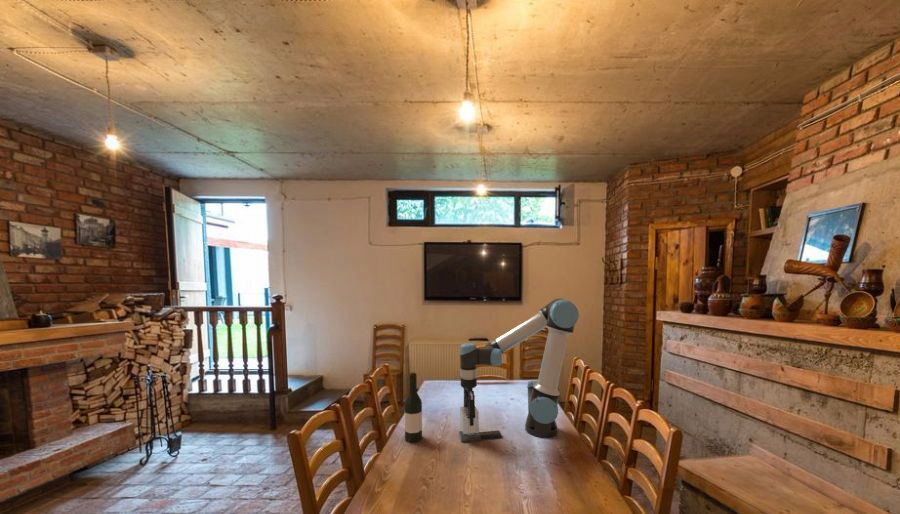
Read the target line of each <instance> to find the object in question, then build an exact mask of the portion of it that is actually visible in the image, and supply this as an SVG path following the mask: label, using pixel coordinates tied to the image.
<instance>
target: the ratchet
mask: <svg viewBox="0 0 900 514" xmlns="http://www.w3.org/2000/svg"><path fill="white" fill-rule="evenodd" d="M458 437H459V440H460V443H468V442H469V443H470V442H477V441H479V442H480V441H481V440H490V439H491V440H492V439H500V438H502V433H501V431H500V430H499V429H498V430H491V431H490V430H489V431H488V430H487V431H479V433H468V434H463V432H462V430H459V431H458Z"/></svg>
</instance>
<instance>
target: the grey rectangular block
mask: <svg viewBox="0 0 900 514" xmlns="http://www.w3.org/2000/svg"><path fill="white" fill-rule="evenodd" d="M459 416H460V417H459V418H460V420H459V421H460V425H459V426H460V429H461V431H462V432H463V434H468V418H467V417H468V416H469V415H468V407H464V406H460V407H459ZM479 419H480V416H479V410H478V409H477V407H476V406H475V418H474V430H475V432H474V433H479V432H480V424H479V423H480V421H479Z"/></svg>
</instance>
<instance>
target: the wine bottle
mask: <svg viewBox="0 0 900 514" xmlns="http://www.w3.org/2000/svg"><path fill="white" fill-rule="evenodd" d="M417 381H418V380H417V373H416V371H410V373H409V393H408V394H407V396H406V398H405V400H404V441H405V442H407V443H410V444H412V443H418V442H421V441H422V440H423V407H422V406H423V402H422V399H421V397H420V395H419V393H418V391H417V387H418V385H417Z"/></svg>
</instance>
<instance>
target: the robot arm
mask: <svg viewBox="0 0 900 514" xmlns="http://www.w3.org/2000/svg"><path fill="white" fill-rule="evenodd" d="M579 315H580V314H579V310H578V307H577V306H576V304H575V303H573V302H572V301H570V300H567V299H565V298H556V299H553V300H552V301H550V302H549V303H548V304H546V305H545V306H543V307H541V309H538V313H536V314H535V315H533V316H532V317H529V318H528V319H526V320H525V321H524V322H522V323H520V324H518V325H517V326H515V327H513V328H512V329H510V330H509V331H507V332H505V333H504V334H502V335H500V336H499V337H497V338H495V339H494V340H492V341H490V342H488V343H486V344H485V345H484V346H483V348H480V347H479V348H477V346H476V344H475V343H472V342H466V343H465V342H464V343H462V344H461V345H460V348H459V352H460V353H459V359H460V360H459V365H460V366H459V368H460V370H459V371H458V372H459V373H460V386H461V388H463V407H468V415H469V416H468V417H467V418H468V433H474V432H475V430H474V418H475V407H476V403H475V399H476V398H475V397H476V396H475V391H474V390H473V389H474V388H476V387H477V386H478V383H477V382H478V381H477V380H478V379H477V376H478V375H477V374H478V373H477V366H489V367H490V366H493V367H497V366H499V367H500V366H501V365H503V354H504V353H506V352H507V351H509V350H510V349H512V348H513V347H515V346H517V345H518V344H520V343H522V342H524V341H526V340H527V339H529V338H531V337H532V336H533V335H536V334H538V332H541V331H542V330H544V329H545V328H547V330H548V333H547V337H546V341H545V346H544V351H543V356H542V359H541V360H542V361H541V366H540V369H539V370H540V371H539V373H538V377H537V379H538V380H537V379H536V380H535V379H534V380H529V381H528V382H527V386H526V388H527V403H528V405H527V406H528V407H527V408H528V410H527V411H528V413H527V417H526V420H525V424H524V427H525V428H524V429H525V432H527V433H528V434H530V435H531V436H534V437H538V438H552V437H554V436H557V435H558V432H559V431H558V429H559V428H558V425H557V422H556V419H557V417H558V415H559V406H558V404H559V400H560V395H561V392H560V391H559V390H558V386H559V382H560V378H561V374H562V373H561V372H562V368H563V363H564V358H565V354H566V349H567V345H568V340H569V336H570V335H573V333H574V330H575V325H576V324H577V322H578V321H579V317H580V316H579Z"/></svg>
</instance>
